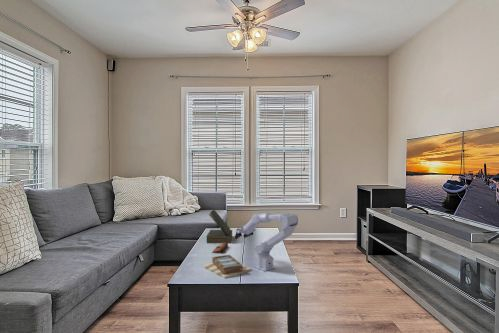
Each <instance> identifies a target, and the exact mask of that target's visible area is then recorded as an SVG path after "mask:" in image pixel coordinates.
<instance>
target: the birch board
mask: <svg viewBox="0 0 499 333" xmlns="http://www.w3.org/2000/svg"><path fill="white" fill-rule="evenodd" d="M242 265H243V271H241V272H234V273H228V274H223V273H222V272H221V271H220V270H219V269H218V268H217V267H216V266H215V265H214V264H213V263H212V262H210V263H206V264H203V265H202V267H203V268H204V269H206V270H208V271H210V272H212V273H214V274H216V276H219V277H221V278H223V279H227V278H230V277H231V278H232V277H234V276H237V275H241V274H244V273H248V272H250V271H252V268H250V267H248V266H246V265H244V264H242Z"/></svg>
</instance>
